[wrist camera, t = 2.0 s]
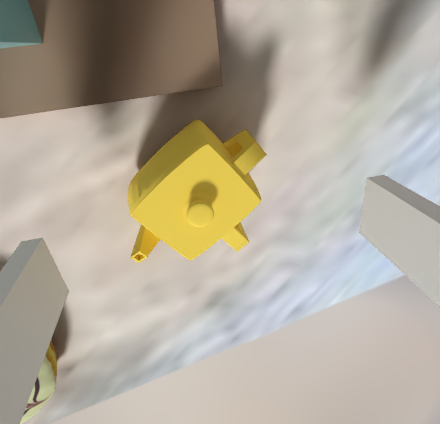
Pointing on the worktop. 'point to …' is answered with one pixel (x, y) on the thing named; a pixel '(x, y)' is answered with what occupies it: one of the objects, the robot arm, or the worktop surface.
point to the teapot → (195, 192)
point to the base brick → (17, 24)
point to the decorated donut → (42, 384)
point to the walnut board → (110, 53)
